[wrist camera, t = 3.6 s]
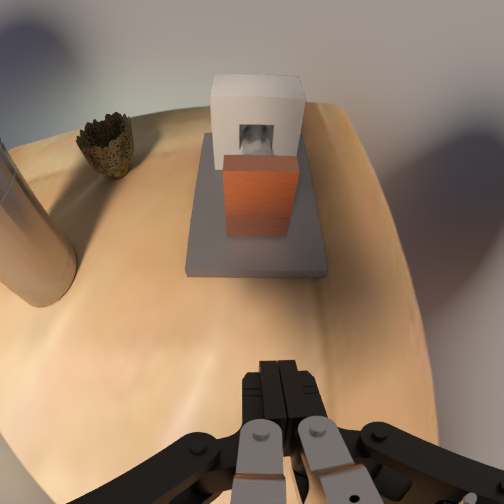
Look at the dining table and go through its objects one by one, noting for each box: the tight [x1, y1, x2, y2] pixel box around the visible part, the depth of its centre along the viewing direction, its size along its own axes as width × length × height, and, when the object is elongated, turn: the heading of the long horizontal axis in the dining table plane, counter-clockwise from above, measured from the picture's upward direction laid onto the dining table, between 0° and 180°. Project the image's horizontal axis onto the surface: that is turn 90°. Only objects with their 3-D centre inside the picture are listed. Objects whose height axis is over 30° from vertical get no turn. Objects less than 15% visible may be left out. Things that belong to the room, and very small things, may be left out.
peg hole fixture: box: [185, 74, 328, 278], centre depth 31 cm, size 14×22×12 cm, turn 1°
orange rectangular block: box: [223, 124, 300, 237], centre depth 29 cm, size 6×11×9 cm, turn 1°
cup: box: [76, 112, 134, 179], centre depth 34 cm, size 8×7×8 cm
